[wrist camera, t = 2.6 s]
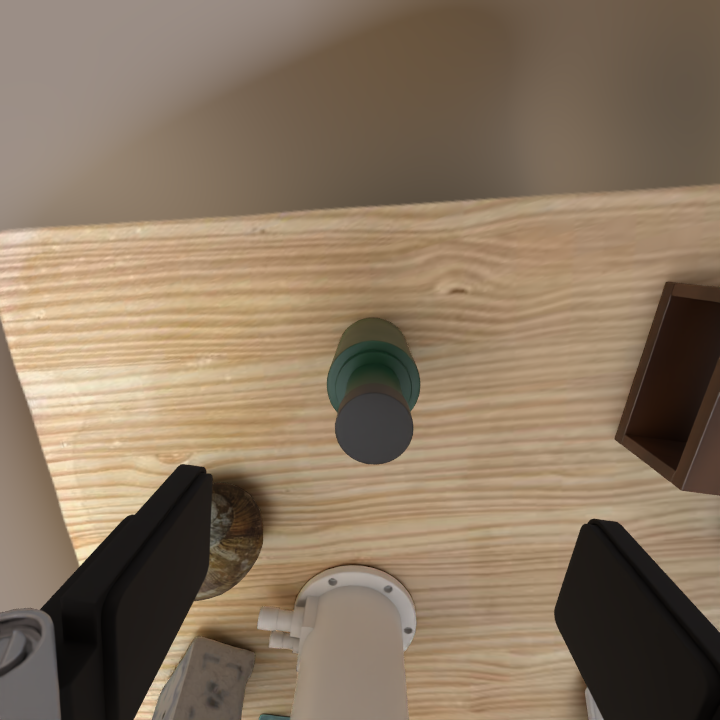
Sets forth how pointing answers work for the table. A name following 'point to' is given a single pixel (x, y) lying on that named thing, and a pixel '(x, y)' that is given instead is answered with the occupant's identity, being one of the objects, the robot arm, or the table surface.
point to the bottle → (373, 391)
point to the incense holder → (206, 683)
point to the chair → (272, 717)
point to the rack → (679, 391)
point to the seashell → (231, 539)
